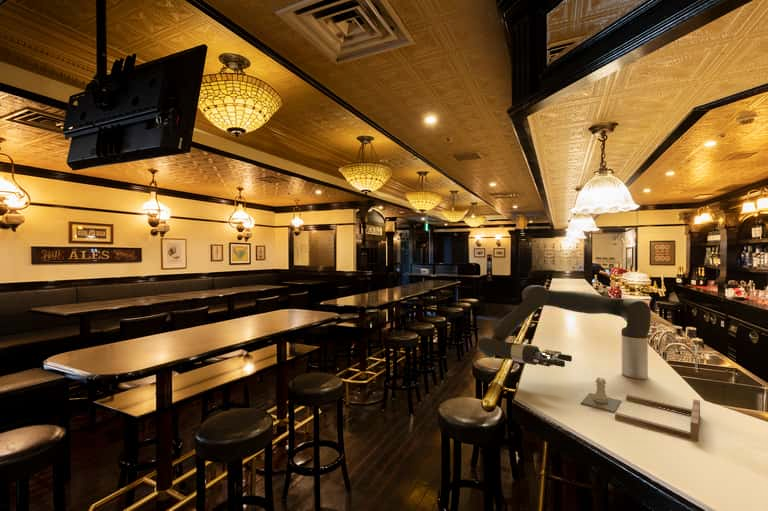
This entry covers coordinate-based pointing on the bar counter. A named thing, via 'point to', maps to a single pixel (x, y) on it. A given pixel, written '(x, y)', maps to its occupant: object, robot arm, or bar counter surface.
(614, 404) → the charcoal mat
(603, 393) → the rook chess piece
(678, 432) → the walnut lane
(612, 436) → the bar counter surface
